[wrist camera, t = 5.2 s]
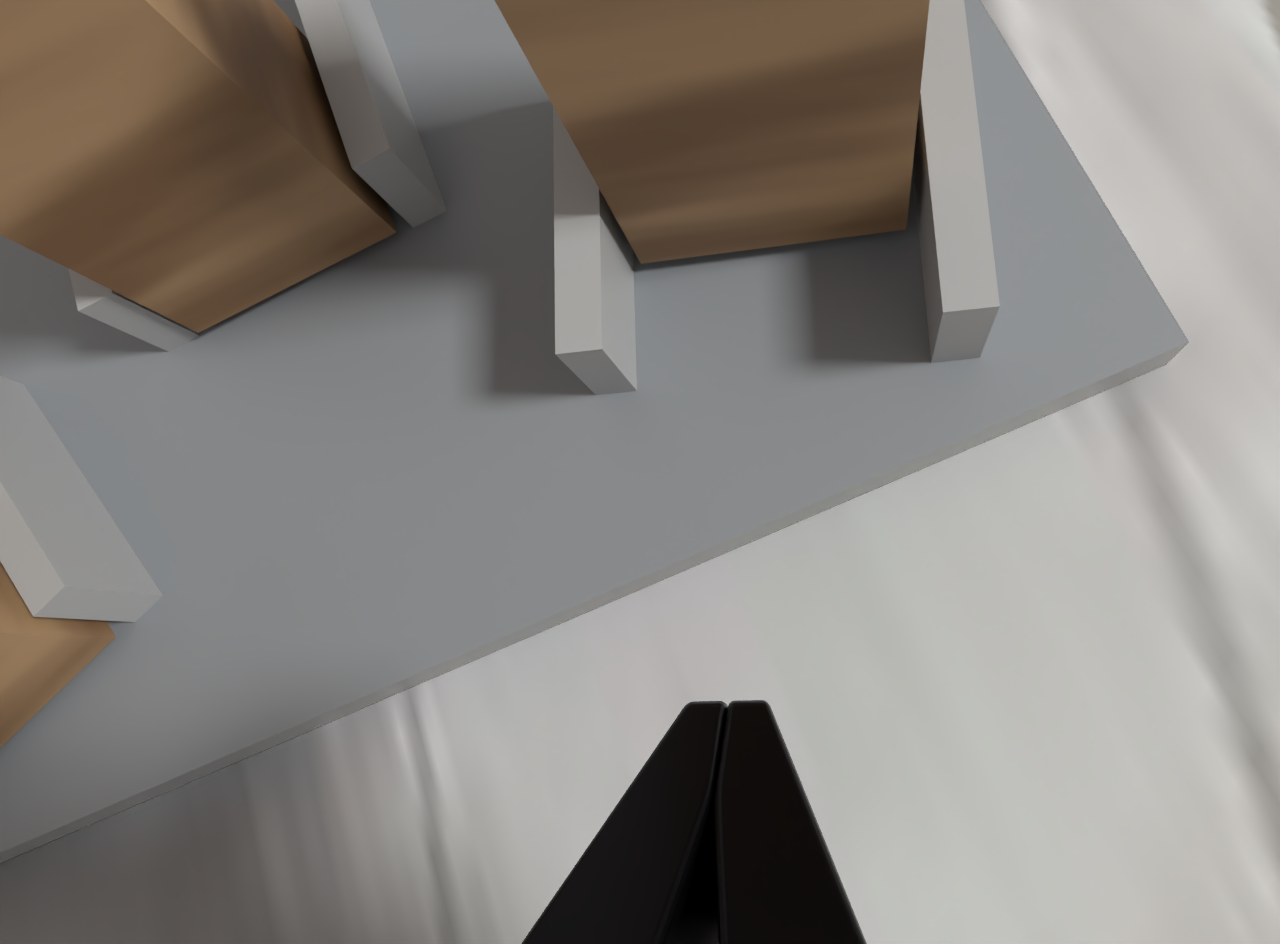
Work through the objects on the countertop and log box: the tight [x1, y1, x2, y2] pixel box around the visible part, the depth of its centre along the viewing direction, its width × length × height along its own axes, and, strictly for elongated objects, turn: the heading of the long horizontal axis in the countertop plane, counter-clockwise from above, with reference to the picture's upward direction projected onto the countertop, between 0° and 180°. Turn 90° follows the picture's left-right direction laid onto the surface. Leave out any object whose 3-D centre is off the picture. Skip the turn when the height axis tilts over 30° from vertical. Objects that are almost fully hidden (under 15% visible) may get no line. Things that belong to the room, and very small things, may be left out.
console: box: [0, 0, 1189, 863], centre depth 23 cm, size 20×36×4 cm, turn 111°
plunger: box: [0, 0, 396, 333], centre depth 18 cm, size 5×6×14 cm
